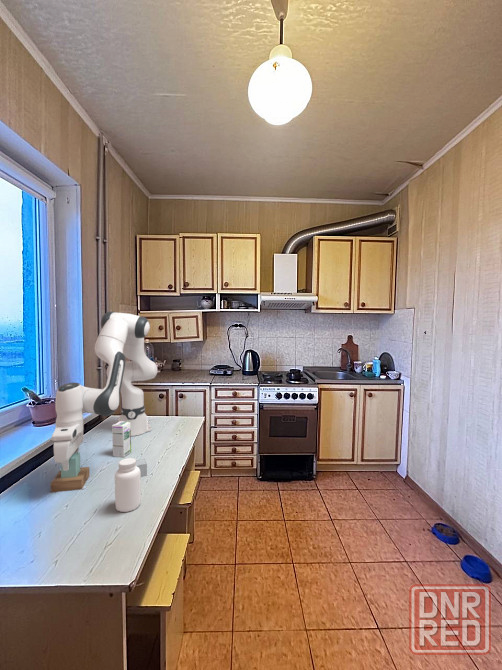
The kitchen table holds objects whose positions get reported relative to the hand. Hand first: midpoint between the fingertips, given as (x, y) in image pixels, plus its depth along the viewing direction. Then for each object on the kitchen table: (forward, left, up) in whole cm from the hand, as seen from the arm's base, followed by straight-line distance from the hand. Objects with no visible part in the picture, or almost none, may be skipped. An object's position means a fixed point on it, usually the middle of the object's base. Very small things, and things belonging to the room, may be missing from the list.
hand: (70, 463), depth 116 cm
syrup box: (-23, +14, -8) cm, 28 cm away
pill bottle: (+19, +23, -8) cm, 31 cm away
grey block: (-2, +24, -8) cm, 25 cm away
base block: (0, 0, -8) cm, 8 cm away
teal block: (0, 0, -4) cm, 4 cm away
